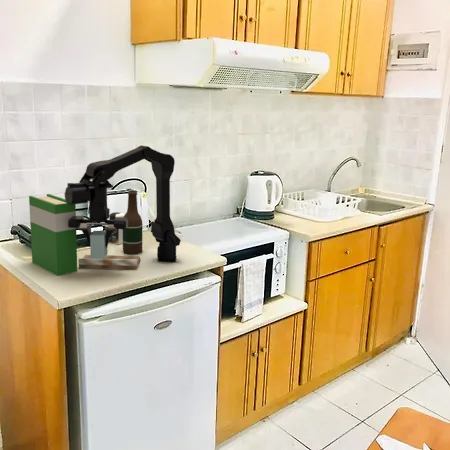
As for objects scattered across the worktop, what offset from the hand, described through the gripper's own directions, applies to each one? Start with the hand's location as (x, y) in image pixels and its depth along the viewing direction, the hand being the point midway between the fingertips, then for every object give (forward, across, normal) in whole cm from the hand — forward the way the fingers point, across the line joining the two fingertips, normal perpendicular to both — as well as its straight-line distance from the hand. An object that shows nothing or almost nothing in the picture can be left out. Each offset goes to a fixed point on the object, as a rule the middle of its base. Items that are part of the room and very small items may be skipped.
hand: (98, 247), depth 171 cm
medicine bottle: (+10, 0, -39) cm, 40 cm away
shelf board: (+9, -2, -10) cm, 14 cm away
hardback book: (+10, +17, -6) cm, 20 cm away
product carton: (+3, 0, 0) cm, 3 cm away
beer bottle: (+10, -8, -25) cm, 28 cm away
